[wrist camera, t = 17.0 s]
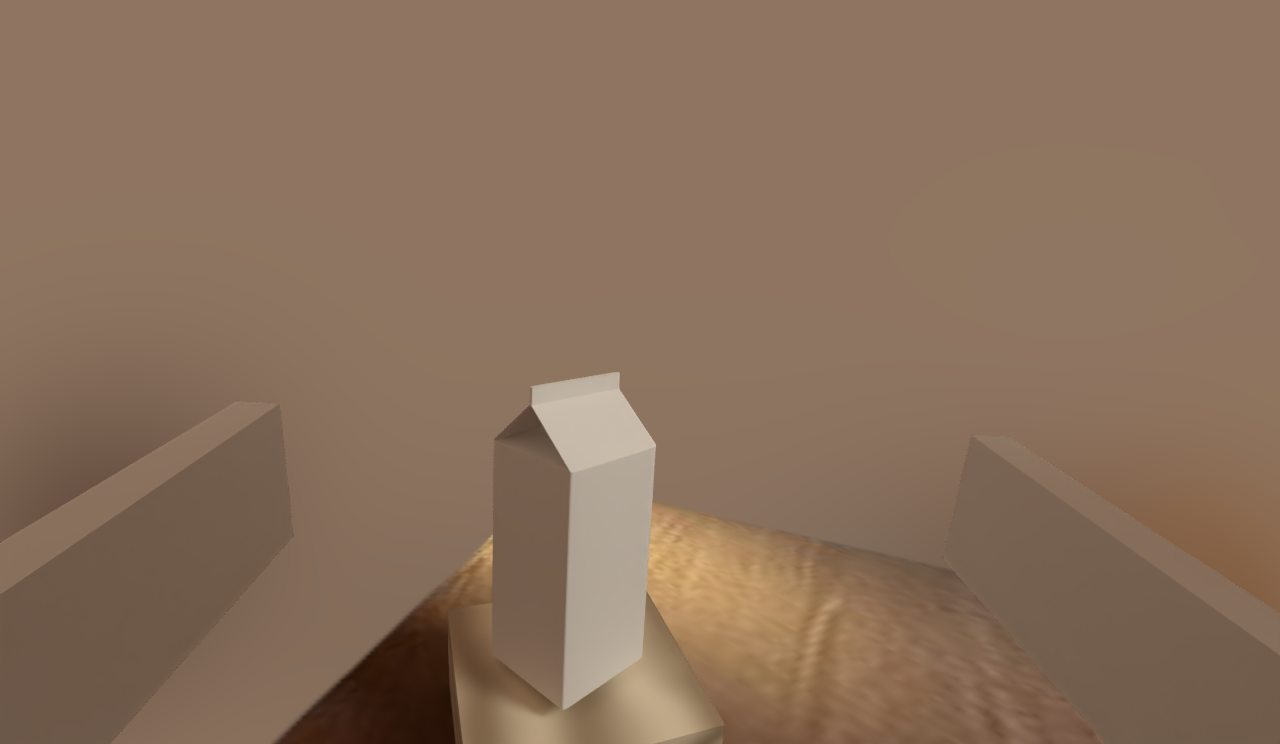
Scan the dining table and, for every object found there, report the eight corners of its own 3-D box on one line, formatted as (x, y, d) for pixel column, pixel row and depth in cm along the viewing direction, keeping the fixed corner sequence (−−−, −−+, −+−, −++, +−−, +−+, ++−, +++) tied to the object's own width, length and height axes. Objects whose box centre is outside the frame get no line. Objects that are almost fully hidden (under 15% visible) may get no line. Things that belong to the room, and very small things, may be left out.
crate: (633, 649, 53) (639, 578, 51) (712, 811, 40) (724, 724, 38) (449, 687, 48) (447, 610, 46) (469, 889, 35) (468, 793, 33)
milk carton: (643, 659, 42) (661, 382, 38) (562, 714, 37) (573, 400, 33) (571, 614, 47) (581, 362, 43) (490, 657, 41) (493, 375, 37)
